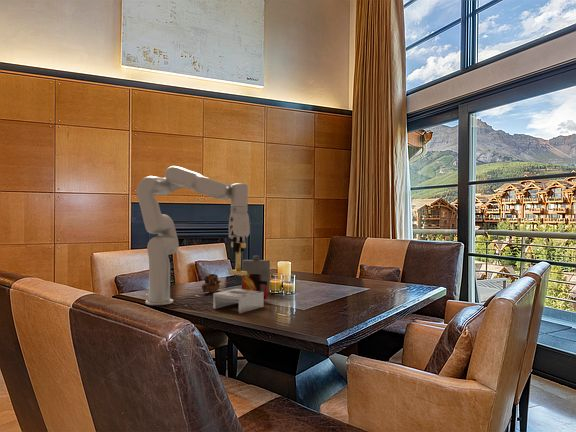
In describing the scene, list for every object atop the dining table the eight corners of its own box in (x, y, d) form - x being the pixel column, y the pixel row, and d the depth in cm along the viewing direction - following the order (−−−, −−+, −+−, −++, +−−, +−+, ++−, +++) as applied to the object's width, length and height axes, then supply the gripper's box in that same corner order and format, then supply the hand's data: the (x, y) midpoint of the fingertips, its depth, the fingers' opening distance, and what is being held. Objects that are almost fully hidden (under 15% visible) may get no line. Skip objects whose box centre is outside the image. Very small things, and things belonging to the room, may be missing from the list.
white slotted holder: (213, 308, 186) (213, 293, 186) (236, 302, 200) (236, 288, 200) (240, 313, 177) (240, 297, 177) (263, 306, 191) (263, 291, 191)
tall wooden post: (242, 275, 185) (242, 243, 185) (228, 273, 190) (229, 242, 190) (247, 274, 188) (247, 242, 188) (233, 273, 192) (234, 241, 192)
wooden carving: (208, 295, 218) (208, 276, 218) (200, 294, 219) (200, 275, 219) (222, 290, 234) (222, 272, 234) (214, 289, 235) (214, 271, 235)
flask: (241, 293, 224) (241, 256, 224) (242, 291, 229) (243, 255, 230) (269, 293, 223) (269, 256, 223) (269, 291, 229) (270, 255, 229)
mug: (266, 302, 201) (267, 277, 201) (239, 300, 204) (239, 276, 204) (271, 298, 211) (271, 274, 211) (244, 297, 213) (244, 273, 213)
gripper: (233, 210, 180) (232, 253, 180) (256, 211, 193) (255, 250, 193) (220, 210, 184) (219, 252, 184) (244, 211, 198) (243, 250, 198)
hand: (238, 251), depth 189 cm, fingers closed on tall wooden post, 2 cm apart
